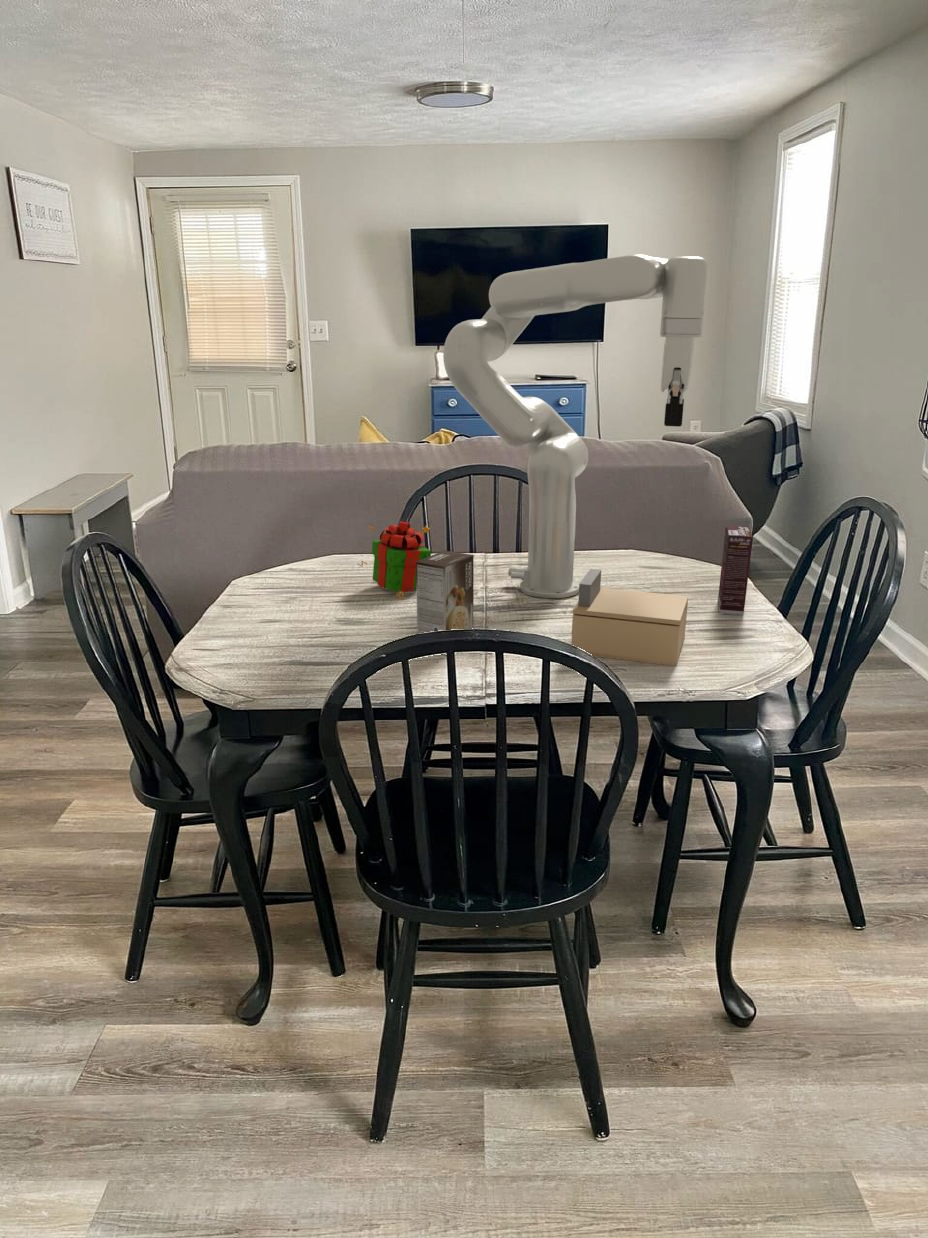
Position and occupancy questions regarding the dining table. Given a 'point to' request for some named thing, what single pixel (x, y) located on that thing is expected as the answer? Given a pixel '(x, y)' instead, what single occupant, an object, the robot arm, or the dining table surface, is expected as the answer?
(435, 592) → the coffee box
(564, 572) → the robot arm
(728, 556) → the supplement box
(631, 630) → the tray
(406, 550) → the green gift box
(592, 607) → the lid
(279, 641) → the dining table surface
